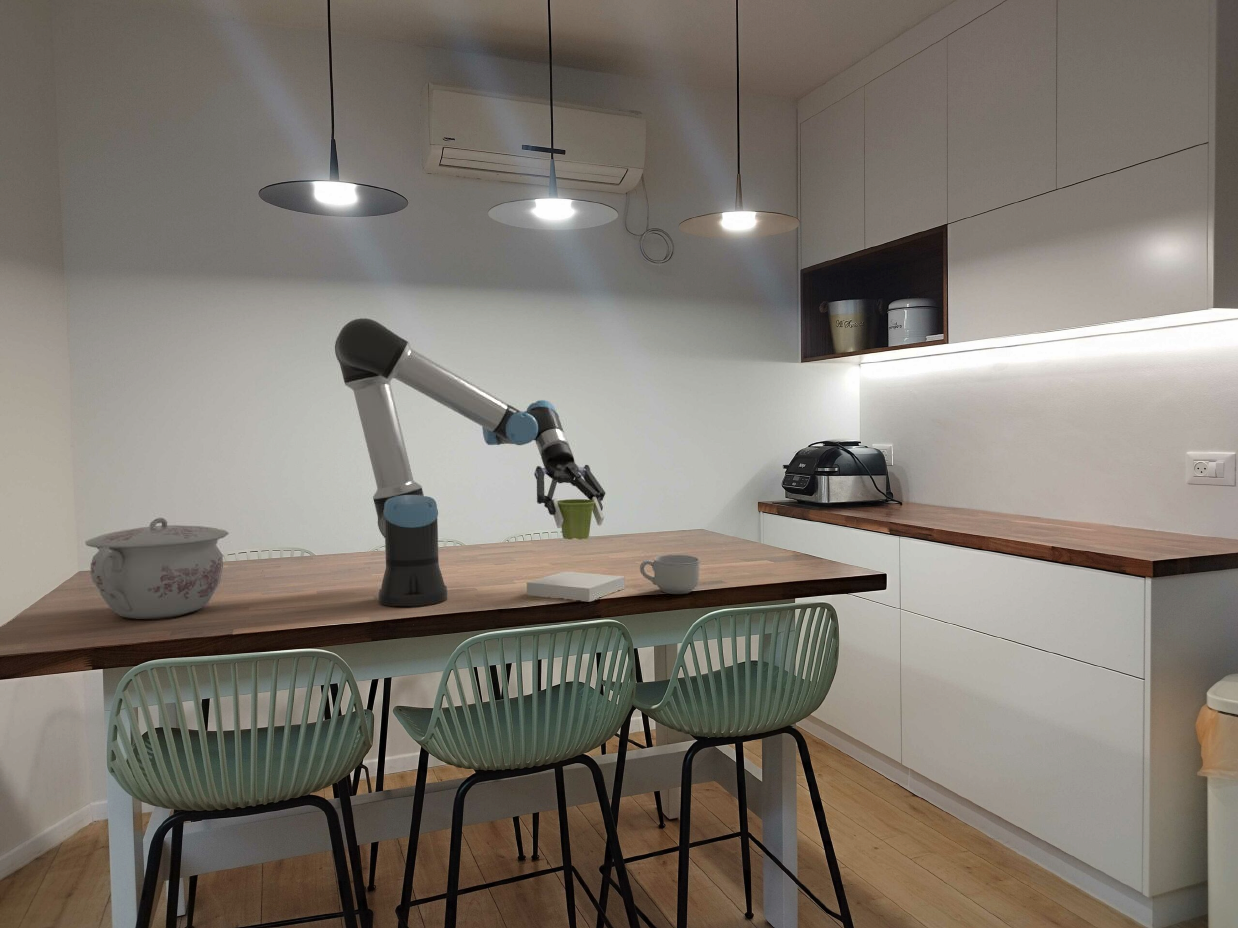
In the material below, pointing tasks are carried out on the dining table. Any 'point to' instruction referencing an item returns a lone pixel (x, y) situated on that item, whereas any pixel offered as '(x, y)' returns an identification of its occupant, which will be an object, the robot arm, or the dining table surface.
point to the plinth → (575, 586)
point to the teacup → (674, 573)
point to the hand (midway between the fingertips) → (581, 522)
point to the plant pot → (576, 517)
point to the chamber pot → (157, 569)
